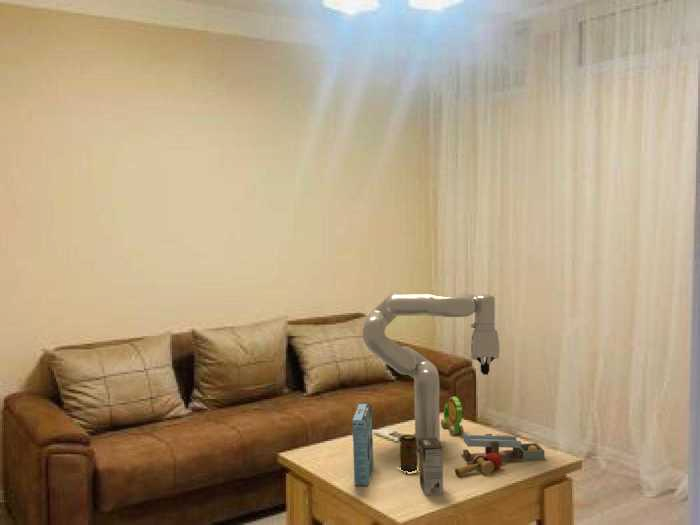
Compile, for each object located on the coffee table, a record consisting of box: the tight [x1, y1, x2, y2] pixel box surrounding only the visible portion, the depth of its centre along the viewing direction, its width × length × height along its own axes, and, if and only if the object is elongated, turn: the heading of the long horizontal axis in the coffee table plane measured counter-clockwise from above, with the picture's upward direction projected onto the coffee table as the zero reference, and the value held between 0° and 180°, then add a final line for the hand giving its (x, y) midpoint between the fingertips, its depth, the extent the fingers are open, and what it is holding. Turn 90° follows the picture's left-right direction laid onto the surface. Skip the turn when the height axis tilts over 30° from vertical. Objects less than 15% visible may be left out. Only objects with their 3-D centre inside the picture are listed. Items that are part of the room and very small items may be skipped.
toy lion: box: [440, 396, 465, 437], centre depth 289 cm, size 16×5×15 cm, turn 13°
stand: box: [461, 433, 525, 466], centre depth 259 cm, size 21×9×8 cm, turn 95°
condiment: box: [399, 434, 420, 475], centre depth 250 cm, size 7×8×12 cm
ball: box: [528, 445, 538, 451], centre depth 260 cm, size 4×4×4 cm
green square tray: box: [520, 442, 545, 462], centre depth 260 cm, size 8×8×4 cm
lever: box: [463, 431, 522, 449], centre depth 261 cm, size 20×12×4 cm, turn 95°
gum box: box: [351, 403, 374, 486], centre depth 245 cm, size 20×5×23 cm, turn 172°
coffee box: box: [418, 438, 444, 496], centre depth 232 cm, size 9×6×16 cm
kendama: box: [454, 453, 502, 478], centre depth 246 cm, size 8×6×18 cm
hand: (485, 373), depth 268 cm, fingers closed
